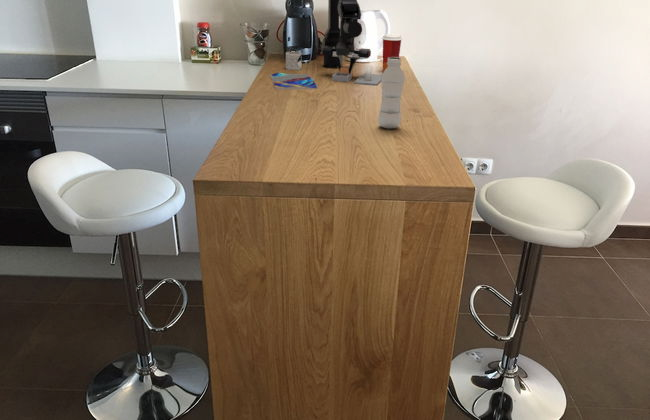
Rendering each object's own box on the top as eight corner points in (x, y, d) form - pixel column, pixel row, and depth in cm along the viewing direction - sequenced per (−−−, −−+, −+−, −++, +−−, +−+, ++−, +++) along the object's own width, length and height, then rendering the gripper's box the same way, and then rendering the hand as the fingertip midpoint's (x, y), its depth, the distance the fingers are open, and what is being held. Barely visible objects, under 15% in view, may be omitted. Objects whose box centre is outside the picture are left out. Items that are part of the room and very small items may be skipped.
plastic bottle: (375, 124, 170) (380, 55, 162) (398, 124, 171) (403, 56, 163) (379, 131, 165) (384, 60, 156) (402, 131, 165) (408, 60, 157)
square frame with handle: (341, 73, 237) (341, 63, 235) (356, 74, 235) (356, 65, 234) (332, 80, 224) (332, 70, 223) (347, 81, 223) (348, 71, 221)
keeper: (353, 83, 221) (354, 68, 218) (363, 74, 236) (364, 60, 234) (376, 85, 219) (377, 70, 216) (385, 76, 234) (386, 62, 232)
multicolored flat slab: (270, 76, 231) (270, 71, 230) (307, 76, 234) (307, 71, 233) (275, 91, 208) (275, 85, 208) (317, 90, 211) (317, 85, 210)
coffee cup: (399, 70, 246) (402, 34, 240) (399, 74, 239) (402, 37, 233) (379, 69, 247) (382, 33, 241) (379, 73, 240) (381, 36, 233)
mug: (301, 70, 241) (301, 54, 238) (285, 70, 241) (285, 53, 238) (302, 66, 250) (302, 50, 247) (286, 65, 250) (286, 49, 247)
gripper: (318, 34, 219) (317, 75, 226) (366, 38, 215) (363, 79, 221) (326, 31, 229) (325, 70, 236) (372, 34, 225) (369, 74, 231)
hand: (345, 73), depth 231 cm, fingers closed on square frame with handle, 3 cm apart
